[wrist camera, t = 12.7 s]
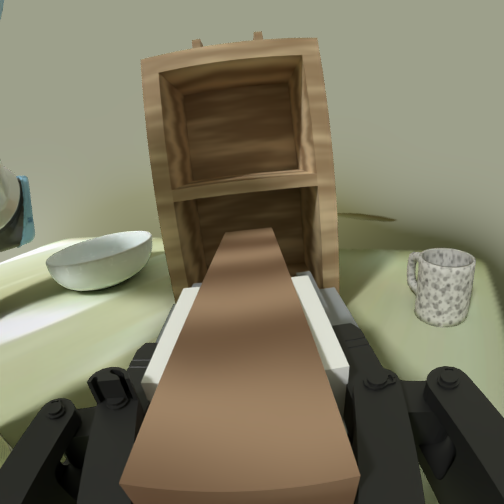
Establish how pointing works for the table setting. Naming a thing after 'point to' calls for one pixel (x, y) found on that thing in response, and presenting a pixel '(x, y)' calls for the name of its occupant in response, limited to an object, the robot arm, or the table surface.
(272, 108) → the oak stand
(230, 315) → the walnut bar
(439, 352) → the table surface
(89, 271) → the serving bowl
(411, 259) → the mug
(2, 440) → the coffee can
